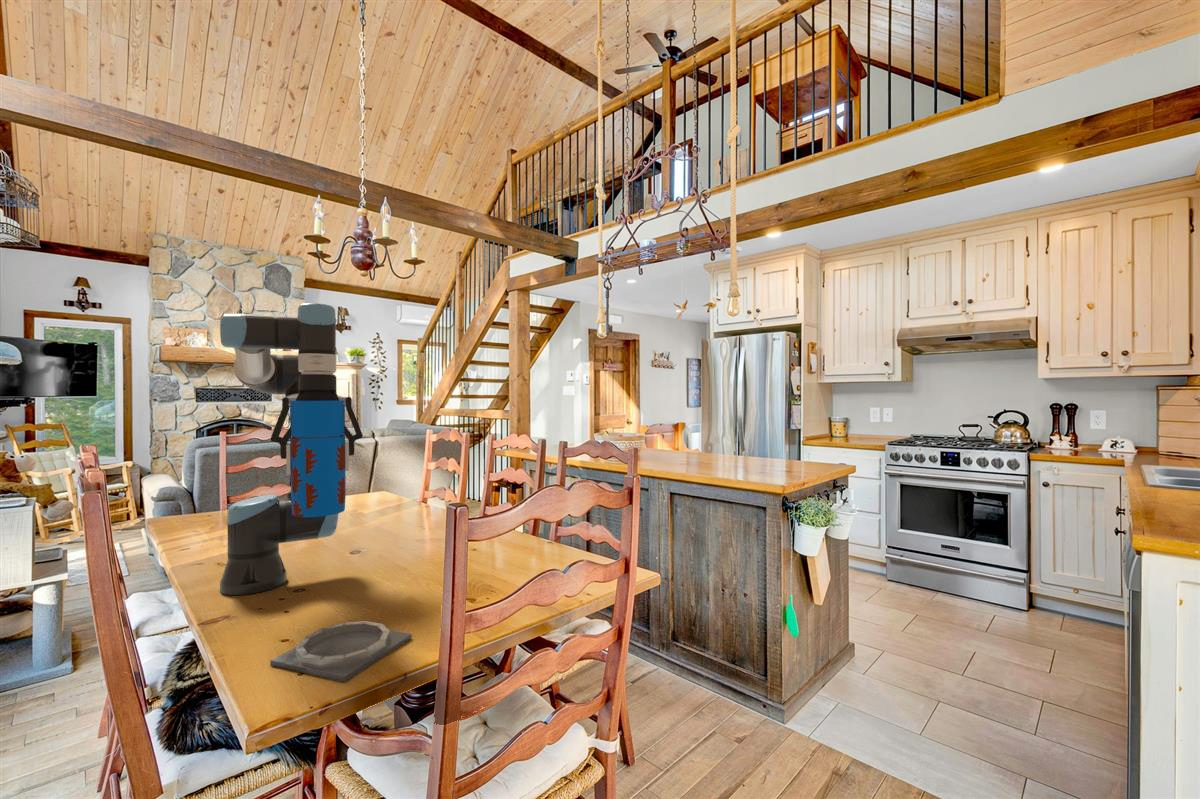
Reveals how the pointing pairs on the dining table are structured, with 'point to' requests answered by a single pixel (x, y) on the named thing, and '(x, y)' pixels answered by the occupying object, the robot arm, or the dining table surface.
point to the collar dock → (341, 650)
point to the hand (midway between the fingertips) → (318, 471)
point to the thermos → (317, 458)
